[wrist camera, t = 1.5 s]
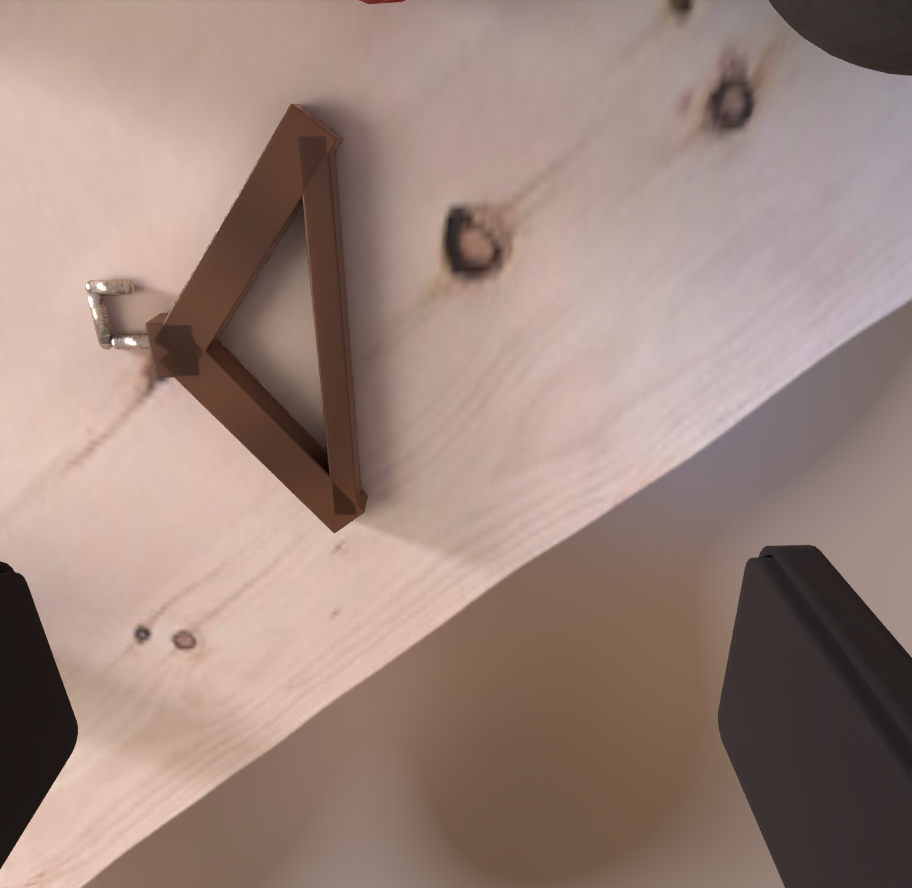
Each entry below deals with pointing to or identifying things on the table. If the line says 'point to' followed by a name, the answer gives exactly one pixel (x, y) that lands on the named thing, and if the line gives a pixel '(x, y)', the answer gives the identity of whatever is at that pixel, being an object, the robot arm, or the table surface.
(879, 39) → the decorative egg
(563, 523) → the table surface
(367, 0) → the onion
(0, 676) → the robot arm
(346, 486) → the hanger
